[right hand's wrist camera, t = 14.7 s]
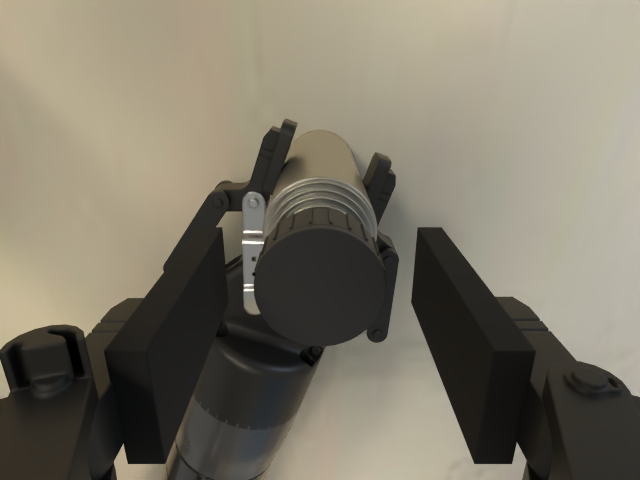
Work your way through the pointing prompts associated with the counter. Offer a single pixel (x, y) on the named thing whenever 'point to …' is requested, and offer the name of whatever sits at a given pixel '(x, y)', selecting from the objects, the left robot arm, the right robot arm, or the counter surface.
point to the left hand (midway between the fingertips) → (336, 141)
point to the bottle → (319, 182)
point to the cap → (319, 278)
